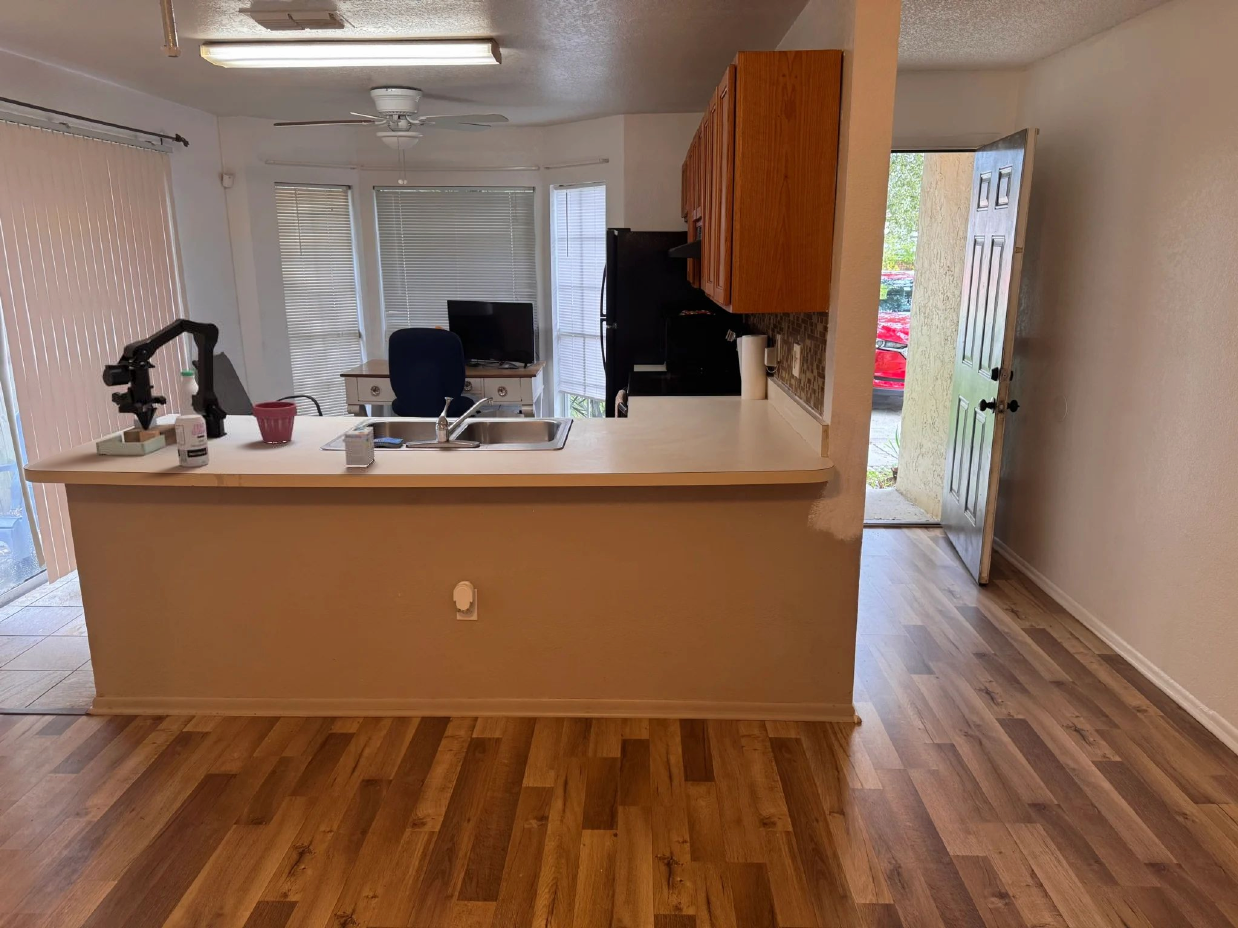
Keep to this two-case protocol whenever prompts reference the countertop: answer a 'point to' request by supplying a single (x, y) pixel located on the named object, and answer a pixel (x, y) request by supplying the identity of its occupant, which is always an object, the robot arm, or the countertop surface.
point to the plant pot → (275, 420)
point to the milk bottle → (187, 392)
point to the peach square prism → (148, 435)
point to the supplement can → (191, 440)
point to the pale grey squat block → (138, 425)
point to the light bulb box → (359, 446)
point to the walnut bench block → (165, 430)
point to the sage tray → (129, 446)
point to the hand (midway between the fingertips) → (146, 430)
